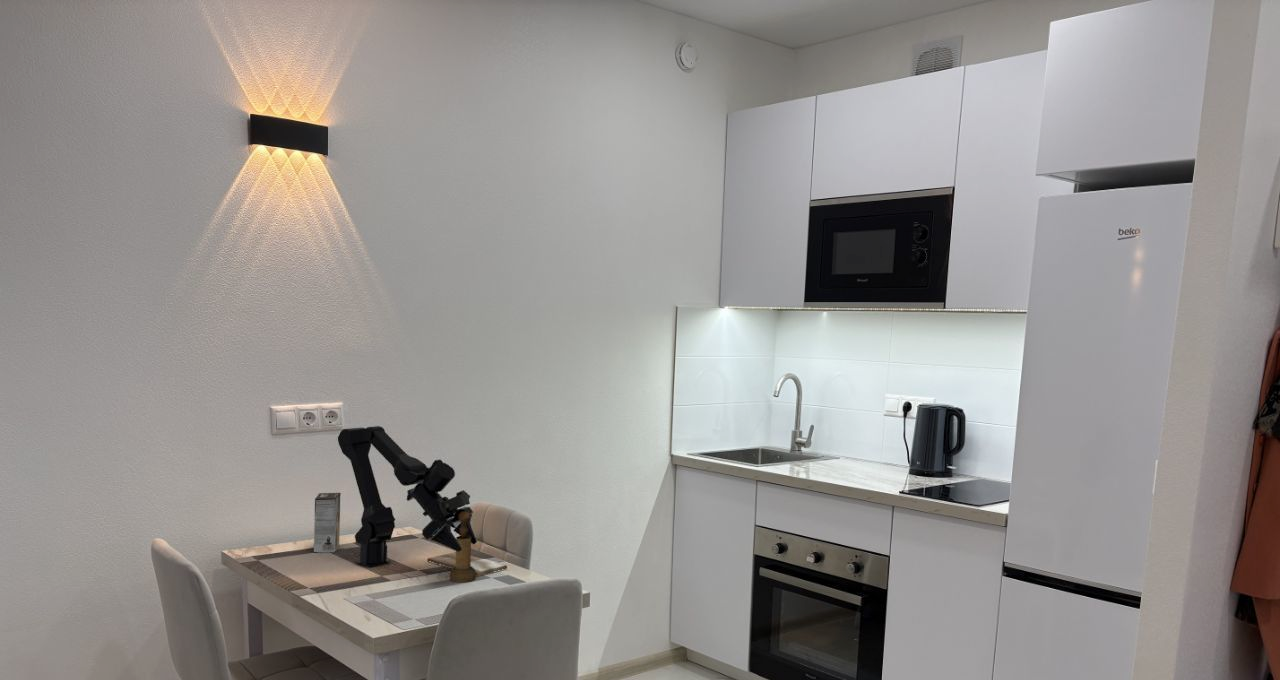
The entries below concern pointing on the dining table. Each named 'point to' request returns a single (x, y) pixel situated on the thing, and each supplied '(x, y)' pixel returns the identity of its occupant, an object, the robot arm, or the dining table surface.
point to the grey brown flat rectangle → (477, 563)
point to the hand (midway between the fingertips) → (468, 546)
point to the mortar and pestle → (463, 554)
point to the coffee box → (327, 522)
